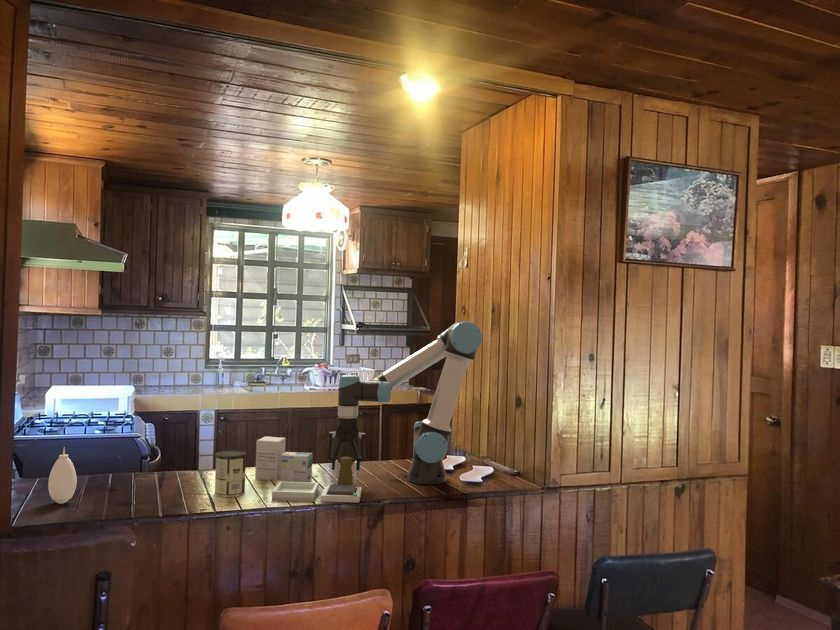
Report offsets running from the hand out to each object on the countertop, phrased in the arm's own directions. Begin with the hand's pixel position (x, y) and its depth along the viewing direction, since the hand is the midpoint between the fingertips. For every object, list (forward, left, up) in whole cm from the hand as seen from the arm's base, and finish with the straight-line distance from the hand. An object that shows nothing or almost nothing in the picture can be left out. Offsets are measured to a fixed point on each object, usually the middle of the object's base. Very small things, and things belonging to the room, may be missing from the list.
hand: (345, 478), depth 243 cm
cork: (0, 0, -3) cm, 3 cm away
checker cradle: (0, +14, -3) cm, 14 cm away
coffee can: (+39, +14, -3) cm, 42 cm away
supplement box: (+30, -11, -3) cm, 32 cm away
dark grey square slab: (0, +14, -2) cm, 14 cm away
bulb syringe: (+88, +31, -3) cm, 93 cm away
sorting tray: (+16, +14, -3) cm, 21 cm away
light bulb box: (+19, -5, -3) cm, 20 cm away
